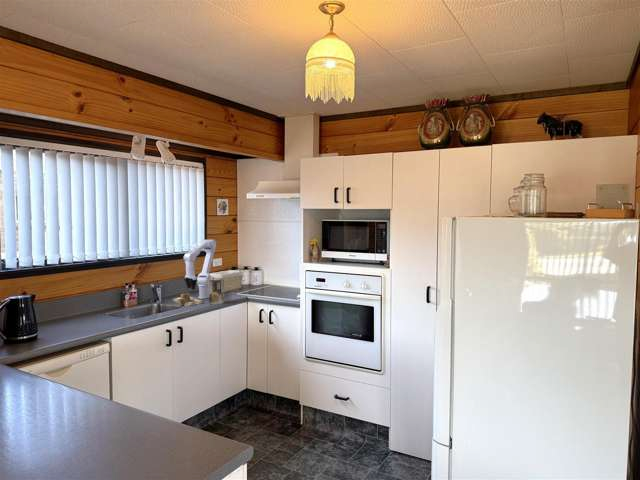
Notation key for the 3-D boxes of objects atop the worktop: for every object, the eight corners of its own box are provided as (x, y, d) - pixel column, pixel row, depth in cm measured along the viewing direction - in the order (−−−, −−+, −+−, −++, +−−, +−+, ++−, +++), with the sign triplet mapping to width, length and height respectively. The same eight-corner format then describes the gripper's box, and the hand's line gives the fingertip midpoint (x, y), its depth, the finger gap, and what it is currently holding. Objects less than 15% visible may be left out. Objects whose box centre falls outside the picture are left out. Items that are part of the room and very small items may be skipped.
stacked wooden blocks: (192, 302, 315) (192, 292, 315) (195, 303, 311) (195, 293, 311) (178, 304, 309) (177, 294, 308) (181, 305, 305) (180, 295, 304)
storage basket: (229, 287, 377) (229, 269, 376) (244, 288, 368) (243, 270, 367) (208, 291, 357) (207, 273, 356) (223, 293, 348) (222, 274, 347)
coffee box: (225, 302, 314) (224, 279, 313) (222, 304, 308) (221, 280, 307) (212, 302, 315) (211, 279, 314) (209, 304, 309) (208, 281, 308)
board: (189, 298, 331) (189, 296, 330) (202, 303, 312) (202, 300, 312) (173, 301, 323) (173, 298, 323) (185, 306, 304) (185, 303, 304)
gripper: (180, 269, 321) (181, 288, 321) (188, 271, 309) (189, 290, 310) (190, 268, 325) (191, 287, 326) (198, 270, 313) (199, 289, 314)
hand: (191, 288), depth 318 cm, fingers open, 7 cm apart
